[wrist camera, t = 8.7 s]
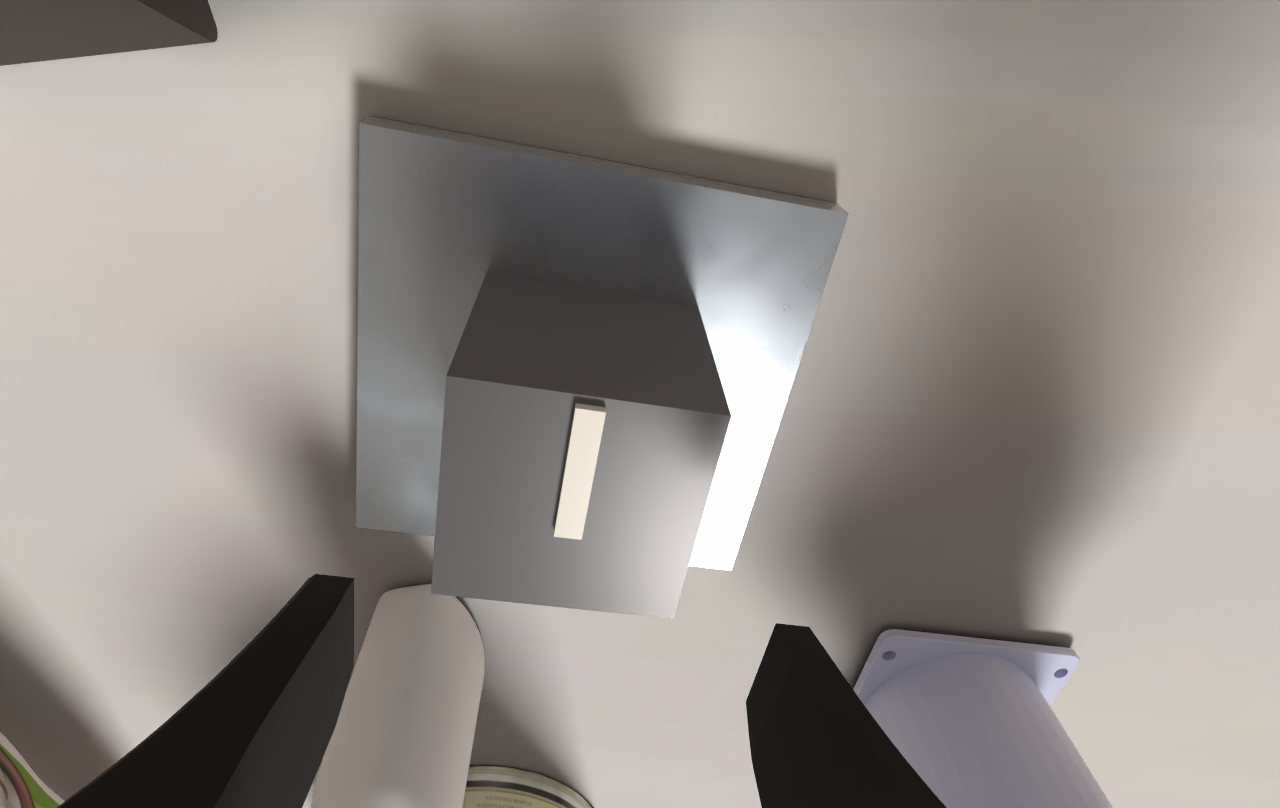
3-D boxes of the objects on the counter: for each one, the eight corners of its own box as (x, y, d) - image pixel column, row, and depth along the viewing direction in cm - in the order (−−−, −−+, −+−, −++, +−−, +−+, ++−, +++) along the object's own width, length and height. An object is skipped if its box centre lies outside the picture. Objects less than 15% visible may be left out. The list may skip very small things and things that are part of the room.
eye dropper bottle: (359, 675, 28) (213, 1097, 17) (388, 565, 25) (239, 980, 15) (475, 699, 29) (403, 1112, 18) (514, 595, 26) (458, 1005, 16)
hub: (726, 550, 25) (755, 679, 21) (364, 507, 24) (307, 635, 19) (837, 203, 20) (911, 272, 15) (371, 116, 18) (291, 163, 13)
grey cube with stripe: (656, 476, 23) (673, 625, 17) (469, 452, 22) (428, 599, 17) (698, 306, 20) (733, 421, 15) (486, 272, 19) (444, 381, 14)
